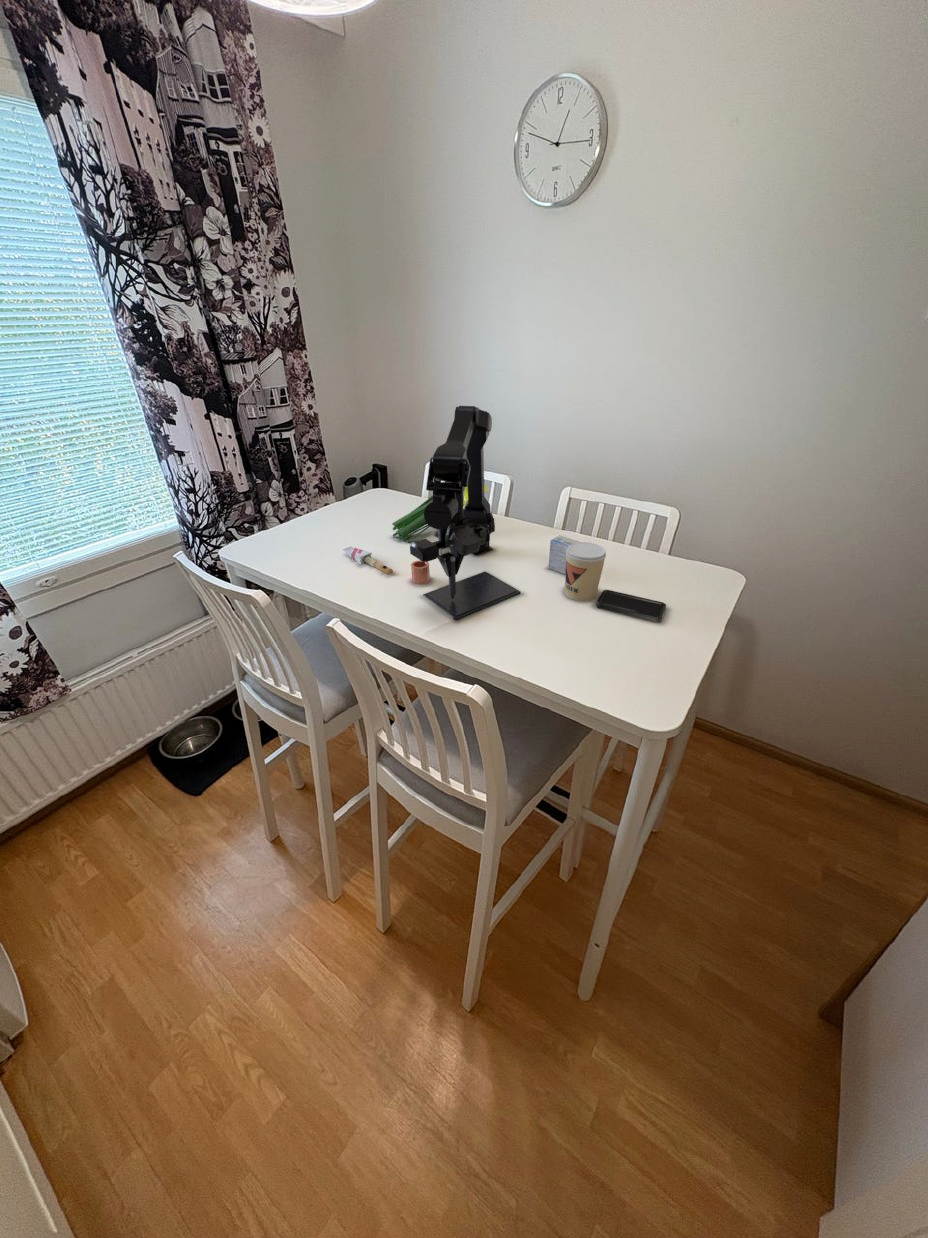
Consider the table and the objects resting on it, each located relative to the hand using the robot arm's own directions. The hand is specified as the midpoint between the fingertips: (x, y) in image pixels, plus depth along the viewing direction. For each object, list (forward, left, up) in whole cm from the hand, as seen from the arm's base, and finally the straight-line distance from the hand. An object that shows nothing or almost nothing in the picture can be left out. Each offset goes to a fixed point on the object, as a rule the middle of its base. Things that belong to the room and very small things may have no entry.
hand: (451, 575), depth 115 cm
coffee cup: (-28, +16, -8) cm, 33 cm away
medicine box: (-34, +5, -8) cm, 35 cm away
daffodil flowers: (-24, -40, -8) cm, 47 cm away
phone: (-32, +28, -8) cm, 43 cm away
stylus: (0, 0, -6) cm, 6 cm away
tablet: (-6, 0, -8) cm, 10 cm away
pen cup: (0, -14, -8) cm, 16 cm away
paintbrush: (+6, -32, -8) cm, 34 cm away
